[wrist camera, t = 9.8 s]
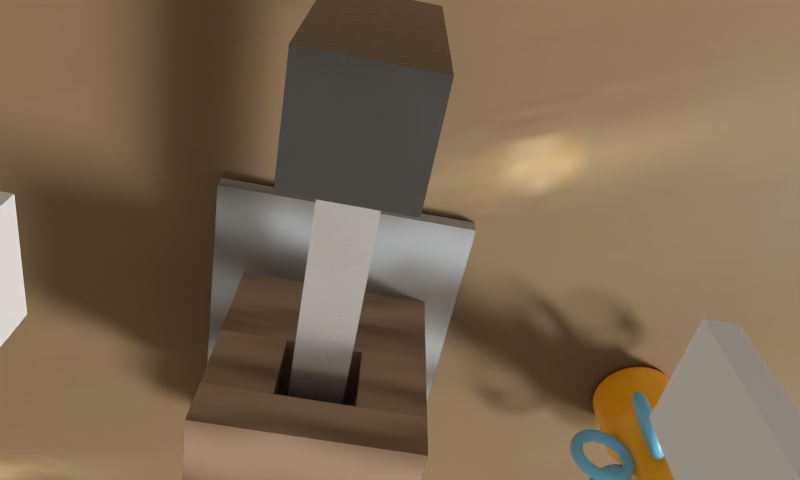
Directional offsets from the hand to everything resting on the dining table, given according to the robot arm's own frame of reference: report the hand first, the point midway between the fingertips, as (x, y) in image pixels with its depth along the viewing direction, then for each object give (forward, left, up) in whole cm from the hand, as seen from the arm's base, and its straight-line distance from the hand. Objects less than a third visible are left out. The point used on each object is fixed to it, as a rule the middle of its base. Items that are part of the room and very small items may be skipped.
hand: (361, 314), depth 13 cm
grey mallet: (+11, -1, -20) cm, 22 cm away
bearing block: (+24, -1, -27) cm, 36 cm away
